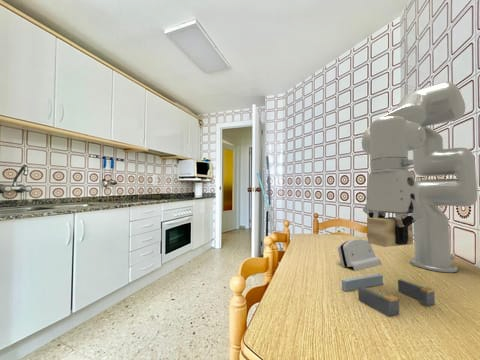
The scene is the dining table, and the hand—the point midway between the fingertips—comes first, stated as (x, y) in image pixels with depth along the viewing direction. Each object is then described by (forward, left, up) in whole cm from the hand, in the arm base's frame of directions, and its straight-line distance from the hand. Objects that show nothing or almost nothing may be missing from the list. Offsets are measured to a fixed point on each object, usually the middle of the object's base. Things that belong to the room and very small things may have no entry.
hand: (391, 241), depth 50 cm
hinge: (-16, -23, -14) cm, 31 cm away
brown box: (0, 0, -1) cm, 1 cm away
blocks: (0, 0, -14) cm, 14 cm away
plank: (0, -8, -14) cm, 16 cm away
